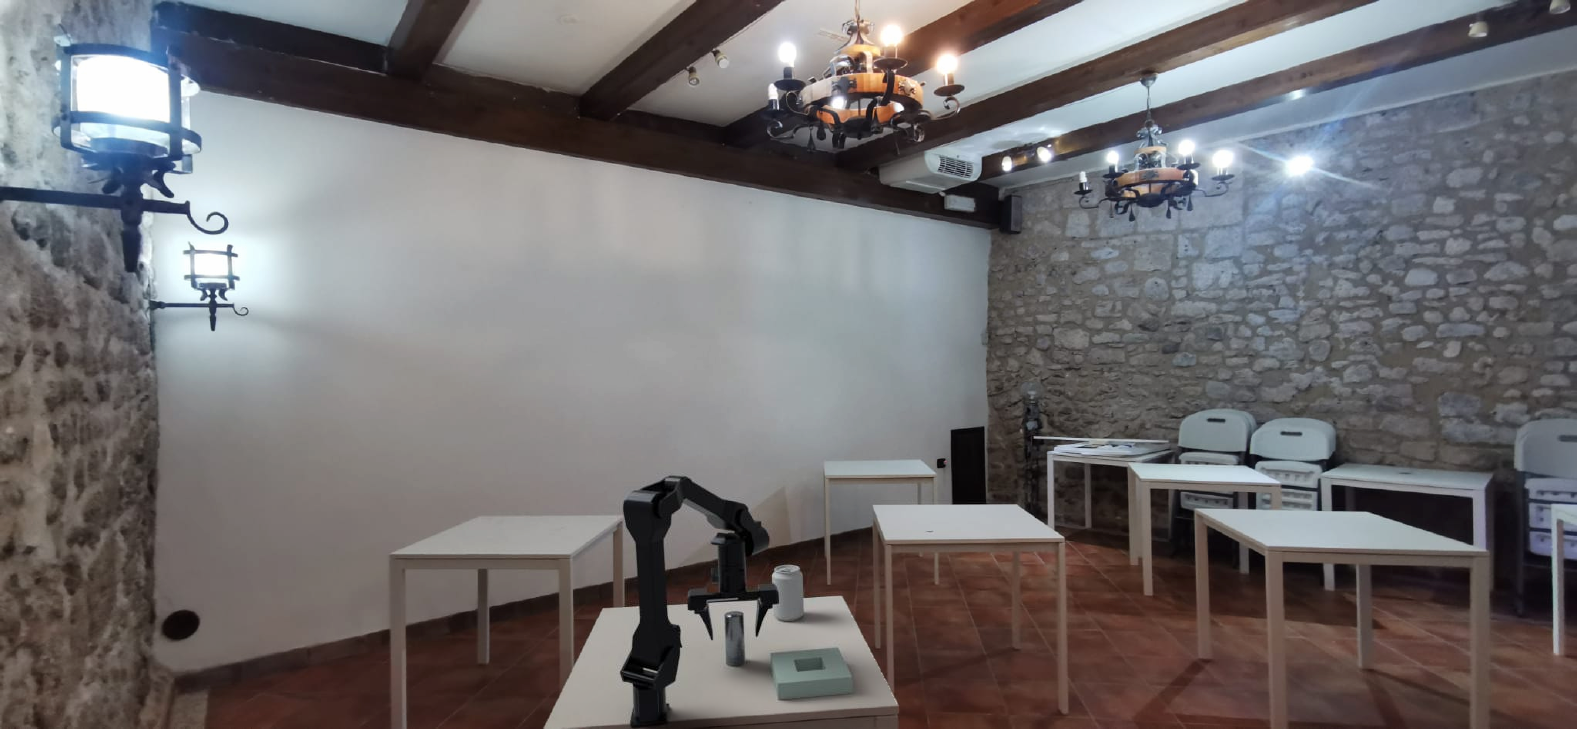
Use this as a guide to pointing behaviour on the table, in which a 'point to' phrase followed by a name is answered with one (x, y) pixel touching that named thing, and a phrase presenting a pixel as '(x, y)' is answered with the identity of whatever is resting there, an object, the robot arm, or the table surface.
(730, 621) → the peg
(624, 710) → the table surface
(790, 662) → the socket block
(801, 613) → the can
